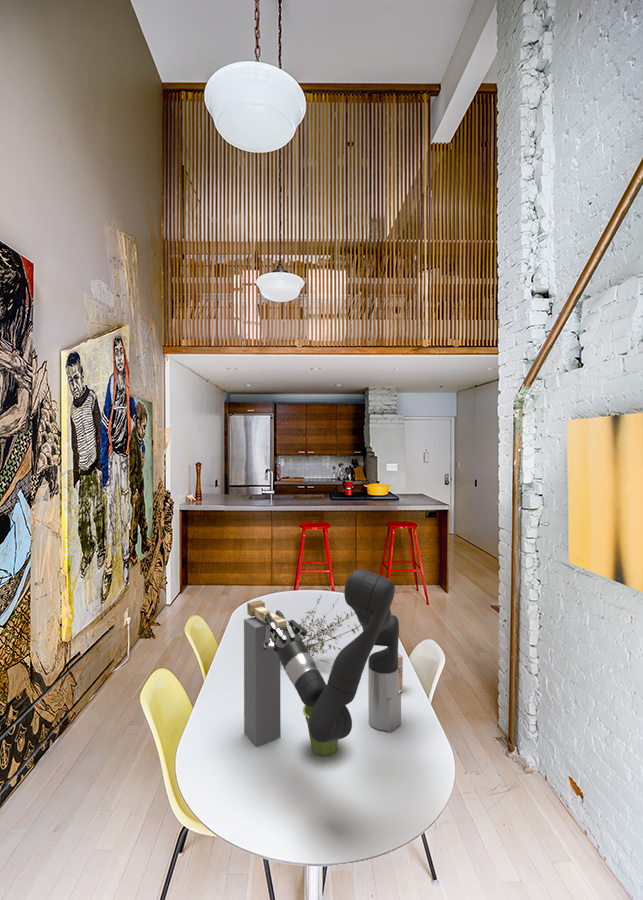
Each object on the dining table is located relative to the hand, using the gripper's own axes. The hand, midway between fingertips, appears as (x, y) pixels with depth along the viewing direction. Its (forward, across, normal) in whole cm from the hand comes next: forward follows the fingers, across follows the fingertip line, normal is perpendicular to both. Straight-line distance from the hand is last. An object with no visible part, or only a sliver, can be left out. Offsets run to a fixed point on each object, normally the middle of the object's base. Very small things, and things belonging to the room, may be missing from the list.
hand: (271, 613), depth 131 cm
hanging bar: (+1, 0, +4) cm, 4 cm away
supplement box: (-16, -48, +35) cm, 62 cm away
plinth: (-13, 0, +36) cm, 38 cm away
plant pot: (-27, -12, +29) cm, 41 cm away
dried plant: (+10, -42, +50) cm, 66 cm away
